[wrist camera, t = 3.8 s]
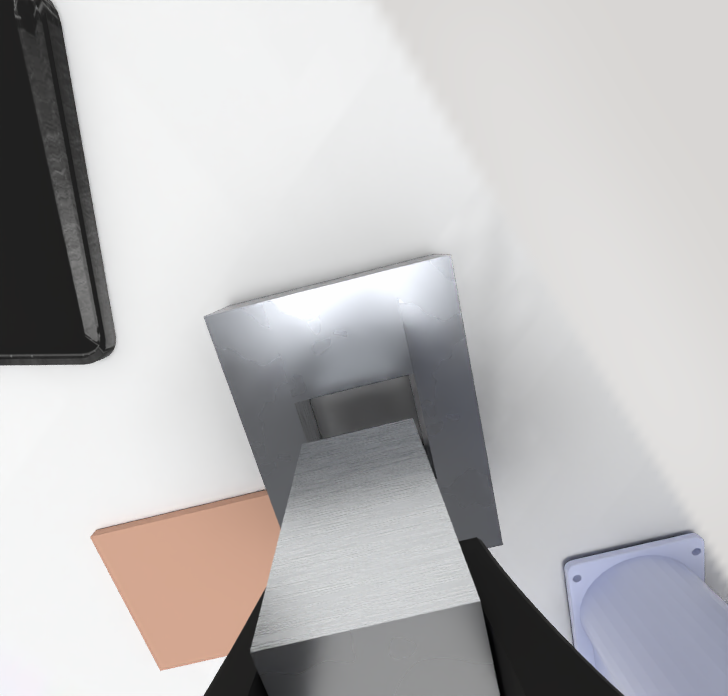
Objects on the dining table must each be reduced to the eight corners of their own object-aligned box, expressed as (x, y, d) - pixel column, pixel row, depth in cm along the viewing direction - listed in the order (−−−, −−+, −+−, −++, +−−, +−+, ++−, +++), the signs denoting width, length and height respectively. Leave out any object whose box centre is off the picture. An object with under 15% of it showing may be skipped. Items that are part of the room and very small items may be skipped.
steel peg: (434, 511, 14) (512, 758, 7) (331, 535, 14) (313, 799, 7) (412, 417, 13) (480, 600, 6) (302, 444, 13) (249, 652, 6)
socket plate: (481, 503, 21) (502, 544, 18) (309, 543, 21) (302, 590, 18) (433, 254, 17) (450, 254, 14) (228, 306, 18) (203, 316, 15)
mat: (320, 626, 23) (320, 634, 22) (164, 661, 23) (160, 670, 22) (271, 488, 20) (269, 494, 20) (96, 530, 20) (90, 537, 20)
